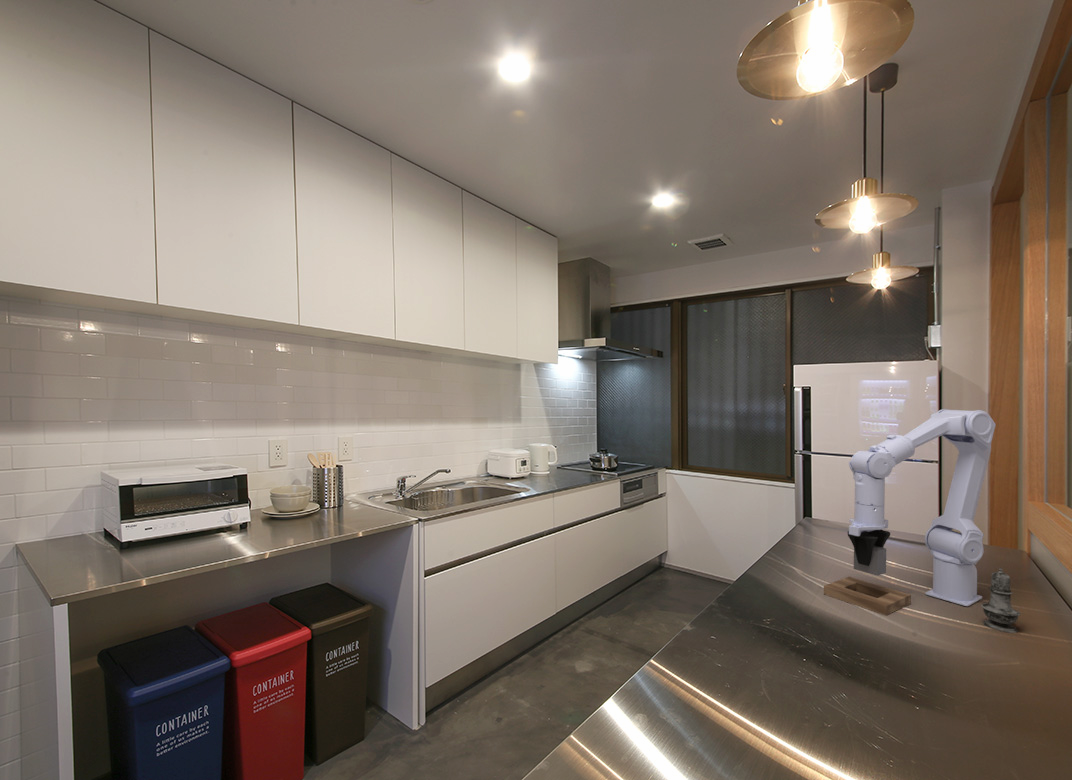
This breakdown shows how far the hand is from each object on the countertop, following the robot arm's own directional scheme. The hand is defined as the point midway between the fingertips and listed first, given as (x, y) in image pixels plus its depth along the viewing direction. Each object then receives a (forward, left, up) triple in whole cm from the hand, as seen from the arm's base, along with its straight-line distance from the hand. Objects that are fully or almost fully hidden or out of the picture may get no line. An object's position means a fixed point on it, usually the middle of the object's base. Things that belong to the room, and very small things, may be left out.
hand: (868, 562), depth 115 cm
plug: (0, 0, -2) cm, 2 cm away
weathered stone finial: (-9, +21, -9) cm, 24 cm away
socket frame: (0, 0, -8) cm, 8 cm away
